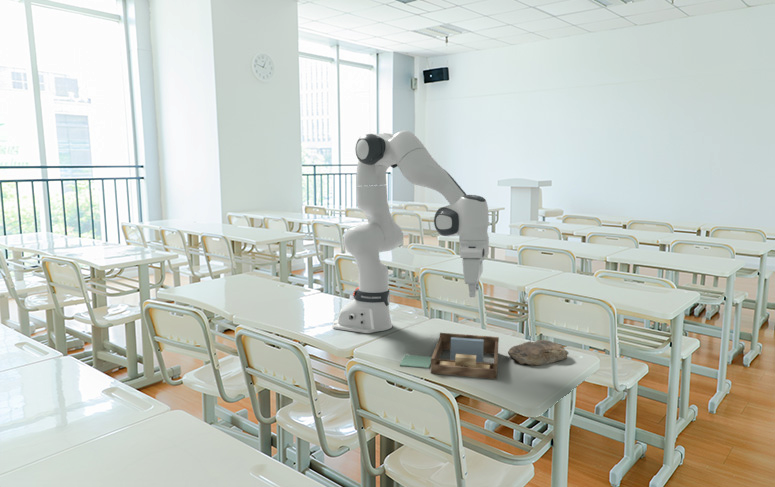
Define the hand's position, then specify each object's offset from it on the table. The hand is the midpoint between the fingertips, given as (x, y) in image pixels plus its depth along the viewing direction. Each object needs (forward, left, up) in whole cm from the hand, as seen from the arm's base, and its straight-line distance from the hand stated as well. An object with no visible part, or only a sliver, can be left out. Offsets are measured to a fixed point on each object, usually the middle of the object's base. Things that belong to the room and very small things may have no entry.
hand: (474, 293), depth 167 cm
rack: (-2, -2, -22) cm, 22 cm away
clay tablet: (+19, +8, -22) cm, 31 cm away
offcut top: (-1, -9, -20) cm, 21 cm away
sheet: (-2, 0, -22) cm, 22 cm away
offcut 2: (+3, -9, -22) cm, 24 cm away
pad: (-17, -5, -22) cm, 28 cm away
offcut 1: (-6, -9, -22) cm, 25 cm away
